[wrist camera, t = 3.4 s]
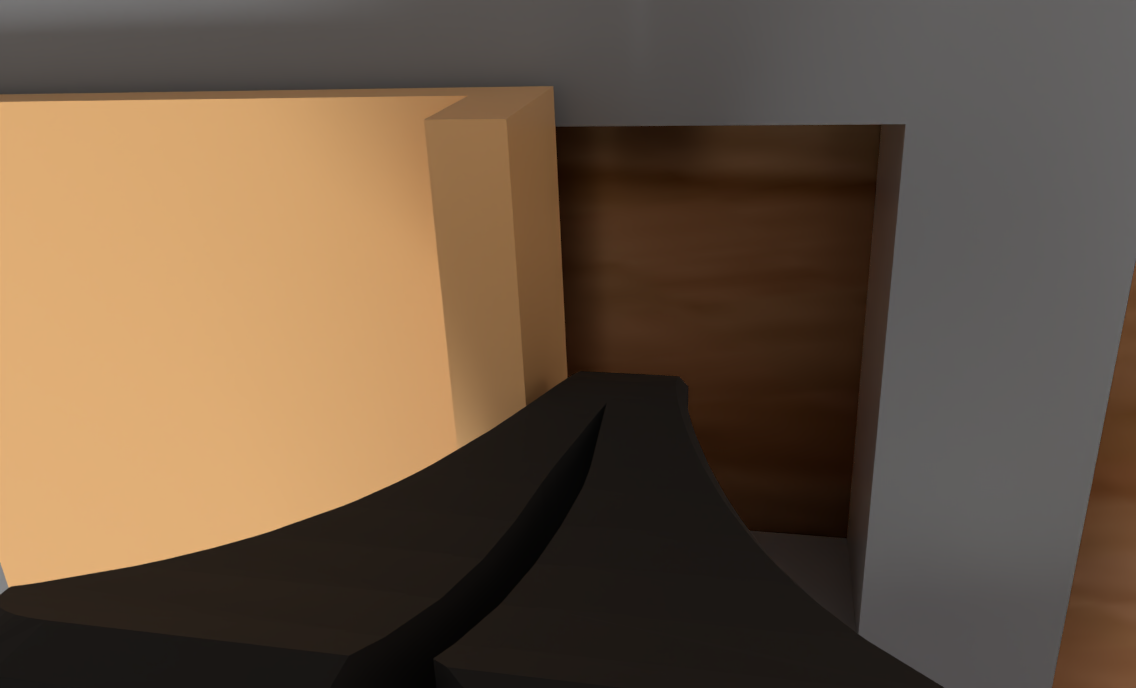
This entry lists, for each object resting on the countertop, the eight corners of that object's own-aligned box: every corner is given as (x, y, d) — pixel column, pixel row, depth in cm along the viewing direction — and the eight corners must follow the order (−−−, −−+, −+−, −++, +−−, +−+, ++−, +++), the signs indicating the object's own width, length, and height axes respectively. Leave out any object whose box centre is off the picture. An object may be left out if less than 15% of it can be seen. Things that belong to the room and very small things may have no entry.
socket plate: (1121, -90, 11) (1204, -92, 9) (998, 654, 16) (1034, 777, 13) (-201, -27, 15) (-372, -18, 13) (-6, 555, 19) (-110, 638, 17)
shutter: (553, 86, 11) (505, 118, 9) (581, 658, 14) (551, 768, 12) (-111, 96, 12) (-263, 125, 11) (47, 600, 16) (-49, 689, 14)
